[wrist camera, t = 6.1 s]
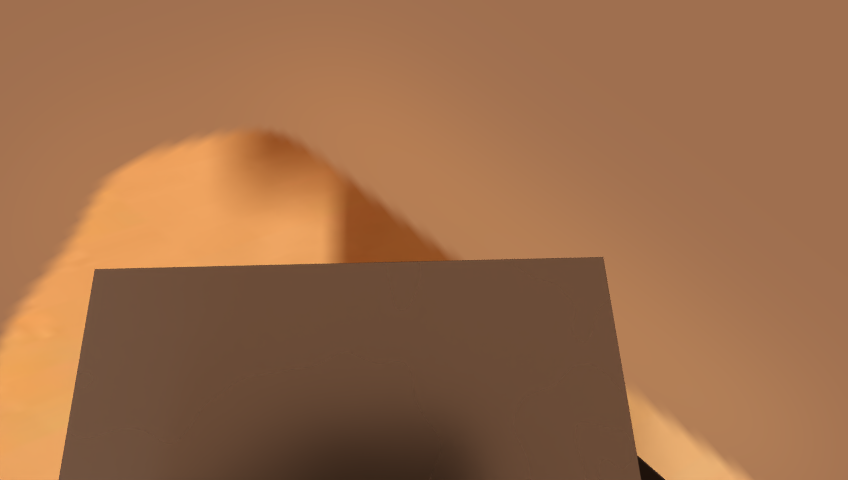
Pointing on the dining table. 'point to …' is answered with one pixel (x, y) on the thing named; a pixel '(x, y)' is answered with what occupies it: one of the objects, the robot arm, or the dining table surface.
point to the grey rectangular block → (352, 374)
